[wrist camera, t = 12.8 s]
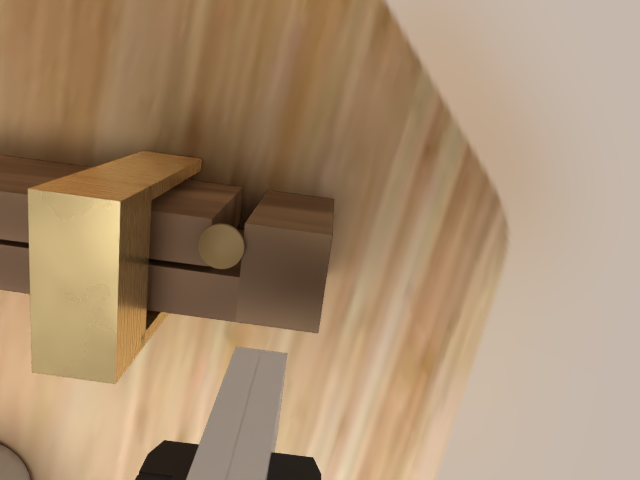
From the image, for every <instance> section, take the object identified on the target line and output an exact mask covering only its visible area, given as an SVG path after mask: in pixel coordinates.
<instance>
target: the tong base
mask: <svg viewBox="0 0 640 480" xmlns="http://www.w3.org/2000/svg"><path fill="white" fill-rule="evenodd" d="M333 213H334V199H328V198H320V197H313V196H306V195H299V194H292V193H284V192H277V191H270V190H268V191H267V192H266V194H265V195H264V196H263V198H262V199H261V201H260V202H259V204H258V205H257V207H256V208H255V209H254V211H253V212H252V214H251V215H250V217H249V218H248V220H247V221H246V223H245V228H244V230H243V229H236V228H234V227H233V226H231V225H228V224H222V223H220V224H214V225H212V226H210V227H208V228H207V229H206V230H205V231H204V232H203V233H202V234H201V236H200V238H199V241H198V250H199V254H200V256H201V258H202V259H203V260H204V261H205V263H207V264H208V265H209V266H202V265H195V264H187V263H179V262H172V261H164V260H156V259H149V266H148V288H147V310H152V311H159V312H166V313H174V314H181V315H188V316H195V317H203V318H210V319H217V320H225V321H232V322H239V323H246V324H254V325H261V326H268V327H276V328H283V329H290V330H297V331H305V332H312V333H318V332H319V325H320V318H321V311H322V304H323V297H324V290H325V284H326V277H327V270H328V263H329V256H330V249H331V242H332V236H333ZM0 290H6V291H13V292H21V293H28V294H30V267H29V243H26V242H19V241H11V240H3V239H0Z"/></svg>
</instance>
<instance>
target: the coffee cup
mask: <svg viewBox="0 0 640 480" xmlns="http://www.w3.org/2000/svg"><path fill="white" fill-rule="evenodd" d="M0 480H30V476H29V473H28V471H27V469H26V466H25V464H24V463H23V462H22V461H21V460H20V458H19V457H18V456H17V455H16V454H15V453H13V452H12V451H11V450H10V449H8V448H7V447H5V446H3V445H1V444H0Z"/></svg>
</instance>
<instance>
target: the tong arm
mask: <svg viewBox="0 0 640 480" xmlns="http://www.w3.org/2000/svg"><path fill="white" fill-rule="evenodd" d="M89 168H93V167H88V166H80V165H72V164H65V163H57V162H49V161H42V160H34V159H26V158H19V157H11V156H4V155H0V239H3V240H11V241H19V242H26V243H29V222H28V188H31V187H35V186H38V185H41V184H44V183H47V182H50V181H53V180H56V179H59V178H62V177H65V176H68V175H71V174H74V173H77V172H80V171H83V170H86V169H89ZM242 192H243V187H240V186H233V185H225V184H217V183H210V182H202V181H194V180H187V179H186V180H184V181H183V182H181V183H179V184H178V185H176V186H174V187H173V188H171V189H169V190H168V191H166V192H165V193H163V194H161V195H160V196H158V197H156V198H155V199H153V200H151V221H150V243H149V259H156V260H164V261H172V262H179V263H187V264H195V265H202V266H209V265H208V264H207V263H205V261H204V260H203V259H202V258H201V256H200V254H199V250H198V241H199V238H200V236H201V234H202V233H203V232H204V231H205V230H206V229H207V228H208V227H210V226H212V225H214V224H220V223H222V224H228V225H231V226H233V227H234V228H237V227H238V225H239V224H240V216H241V204H242Z"/></svg>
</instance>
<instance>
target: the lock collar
mask: <svg viewBox="0 0 640 480" xmlns="http://www.w3.org/2000/svg"><path fill="white" fill-rule="evenodd" d="M201 163H202V159H199V158H192V157H185V156H178V155H170V154H163V153H156V152H149V151H141V152H138V153H135V154H132V155H129V156H126V157H123V158H120V159H117V160H114V161H111V162H108V163H105V164H102V165H99V166H96V167H93V168H89V169H86V170H83V171H80V172H77V173H74V174H71V175H68V176H65V177H62V178H59V179H56V180H53V181H50V182H47V183H44V184H41V185H38V186H35V187H31V188H28V222H29V267H30V311H31V355H32V373H39V374H46V375H53V376H61V377H68V378H75V379H83V380H90V381H97V382H104V383H112V384H116V383H117V381H118V380H119V379H120V377H121V376H122V375H123V373H124V372H125V371H126V369H127V368H128V367H129V365H130V364H131V363H132V361H133V360H134V359H135V357H136V356H137V355H138V353H139V352H140V351H141V349H142V348H143V347H144V345H145V344H146V343H147V341H148V340H149V339H150V337H151V336H152V335H153V333H154V332H155V331H156V329H157V328H158V327H159V325H160V324H161V323H162V321H163V320H164V319H165V317H166V316H167V315H168V313H166V312H159V311H152V310H147V288H148V266H149V243H150V221H151V200H153V199H155V198H156V197H158V196H160V195H161V194H163V193H165V192H166V191H168V190H169V189H171V188H173V187H174V186H176V185H178V184H179V183H181V182H183V181H184V180H186V179H188V178H189V177H191V176H193V175H194V174H196V173H198V172H199V171H201Z"/></svg>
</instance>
